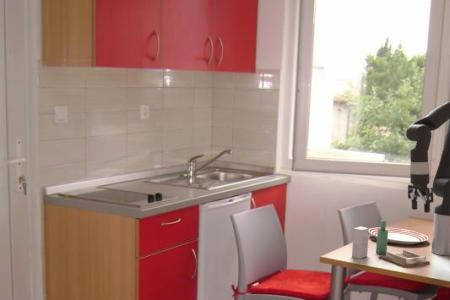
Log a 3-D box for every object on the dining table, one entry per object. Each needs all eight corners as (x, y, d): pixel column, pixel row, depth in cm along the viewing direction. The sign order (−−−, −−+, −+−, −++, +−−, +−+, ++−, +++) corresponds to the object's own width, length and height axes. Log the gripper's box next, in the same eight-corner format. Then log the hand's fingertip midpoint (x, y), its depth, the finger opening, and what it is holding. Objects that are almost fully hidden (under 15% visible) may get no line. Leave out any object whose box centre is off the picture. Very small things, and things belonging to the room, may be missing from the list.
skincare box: (358, 254, 251) (359, 226, 250) (367, 256, 248) (369, 227, 247) (351, 256, 246) (353, 228, 245) (360, 258, 243) (362, 230, 242)
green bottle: (381, 251, 257) (383, 219, 256) (388, 254, 253) (391, 221, 252) (373, 252, 255) (375, 220, 254) (381, 255, 251) (383, 222, 250)
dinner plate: (420, 235, 294) (421, 229, 294) (434, 249, 267) (435, 242, 266) (363, 231, 296) (364, 225, 296) (372, 245, 269) (372, 237, 269)
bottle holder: (403, 255, 252) (404, 248, 252) (429, 264, 240) (430, 256, 240) (378, 258, 246) (379, 251, 245) (404, 267, 233) (404, 259, 233)
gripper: (438, 173, 243) (439, 212, 244) (417, 170, 257) (418, 207, 258) (422, 174, 241) (423, 214, 242) (401, 171, 254) (403, 209, 256)
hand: (420, 210), depth 250 cm, fingers open, 8 cm apart
